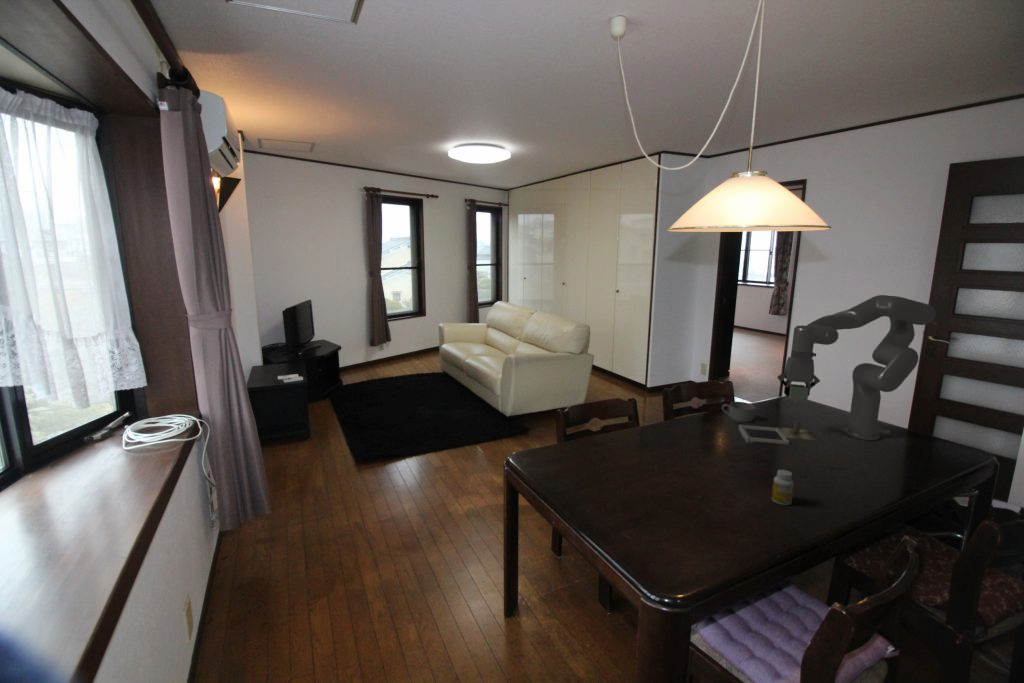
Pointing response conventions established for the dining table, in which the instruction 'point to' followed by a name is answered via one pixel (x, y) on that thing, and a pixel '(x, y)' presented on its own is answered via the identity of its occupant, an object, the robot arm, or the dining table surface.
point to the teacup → (740, 411)
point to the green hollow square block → (798, 392)
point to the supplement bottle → (783, 488)
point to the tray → (750, 439)
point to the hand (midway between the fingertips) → (796, 396)
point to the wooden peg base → (796, 432)
